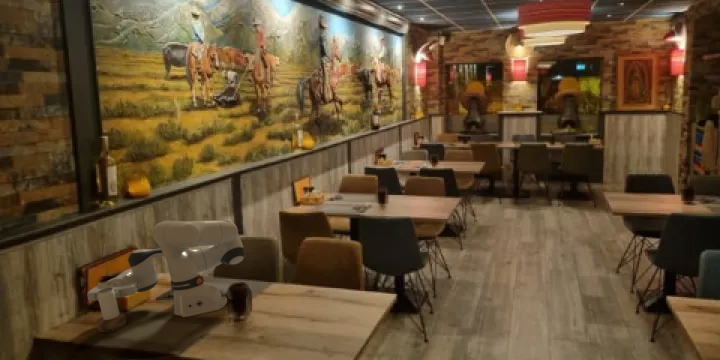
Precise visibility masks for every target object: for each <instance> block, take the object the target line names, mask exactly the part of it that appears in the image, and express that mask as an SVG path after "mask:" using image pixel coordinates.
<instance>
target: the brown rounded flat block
mask: <svg viewBox="0 0 720 360" xmlns="http://www.w3.org/2000/svg"><path fill="white" fill-rule="evenodd" d="M119 314H120V315H119V316H118V317H117V318H115V319H112V320H104V319H103V316H101V317H100V318H98V320H96V326H97V329H98V333H101V332H106V333H109V332H108V331H112V330H115V331H117V330H116V329H118V328H120V327H122V326H124V325H125V324H126V322H127V318H126V314H125V312H119ZM126 325H127V324H126ZM126 325H125V326H126ZM125 326H124V327H125ZM122 328H123V327H122ZM120 329H121V328H120ZM118 330H119V329H118ZM112 332H113V331H112Z"/></svg>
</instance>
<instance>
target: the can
mask: <svg viewBox="0 0 720 360" xmlns="http://www.w3.org/2000/svg"><path fill="white" fill-rule="evenodd" d="M98 299H99V301H98V302H99V307H100V311H101V317H103V319H104V320H112V319H115V318H117V317H118V316H119V315H120V314H119V313H120V309H119V307H118V306H119V305H118V301H117V298H116V297H115V292H114V291H113V288H106V289H102V290H100V291H99V292H98Z"/></svg>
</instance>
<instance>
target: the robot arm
mask: <svg viewBox="0 0 720 360" xmlns="http://www.w3.org/2000/svg"><path fill="white" fill-rule="evenodd" d="M151 234H152V238H153V240H154V241H155V242H156V244H157V245H158V247H154V248H140V249H136V250H135V249H134V250H133V251H131V253H130V254H129V256H128V258H127V262H128V264H129V267H130V268H128V269H126V270H124V271H122V272H120V273H119V274H118V275H117V276H115V277H113V278H111V279H109V280H105V281H101V282H99V283H97V286H93V288H91V289H90V290H89V291H88V292H87V294H86V295H87V296H86V297H87V299H88V301H89V302H93V301H94V302H95V301H97V302H99V299H98V292H99V291H100V290H102V289H106V288H113V291H114V292H115V297H116V299H121V298H124V297H128V296H133V295H135V294H136V293H143V292H147V291H150V290H152V289H154V287H156V286H157V284H158V282H159V277H158V274H157V270H156V268H155V264H154V259H157V258H162V257H164V258H165V261H166V263H167V268H168V271H169V275H170V287H171V291H172V294H173V299H174V300H173V301H174V307H173V308H174V309H173V314H174V315H175V316H179V317H181V318H188V317H191V316H196V315H202V314H206V313H211V312H216V311H220V310H221V309H223V308H224V307H225V306H226V305H227V303H228V301H227V300H228V298H227V297H226V296H222V295H221V292H220V289H218V288H217V287H216V286H213V285H211V284H209V283H207V282H205V280H204V278H205V276H204V275H205V274H202V275H201V274H199V273H203V272H205V271H208V270H211V269H213V268H216V267H218V266H220V265H221V264H225V265H228V266H235V265H237V264H240V263H241V262H243V260H245V258H246V251H245V247H244V246H243V242H242V240H241V237H240V234H239V229H238V226H237V225H236V224H235V223H234V222H232V221H229V220H216V219H215V220H188V221H187V220H184V221H183V220H163V221H161V222H157V224H156V225H154V227H153V229H152V233H151ZM196 247H198V248H196Z"/></svg>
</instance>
